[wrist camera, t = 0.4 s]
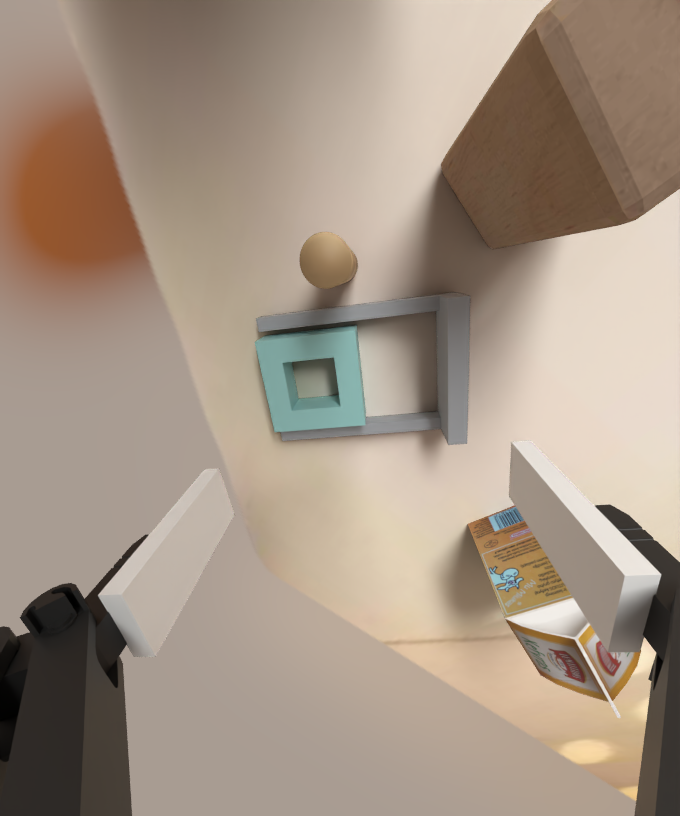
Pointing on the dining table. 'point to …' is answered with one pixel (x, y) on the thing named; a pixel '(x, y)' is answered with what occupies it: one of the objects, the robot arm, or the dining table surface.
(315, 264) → the dowel
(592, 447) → the dining table surface
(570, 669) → the milk carton
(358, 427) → the track
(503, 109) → the block
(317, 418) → the teal square ring
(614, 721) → the dining table surface
